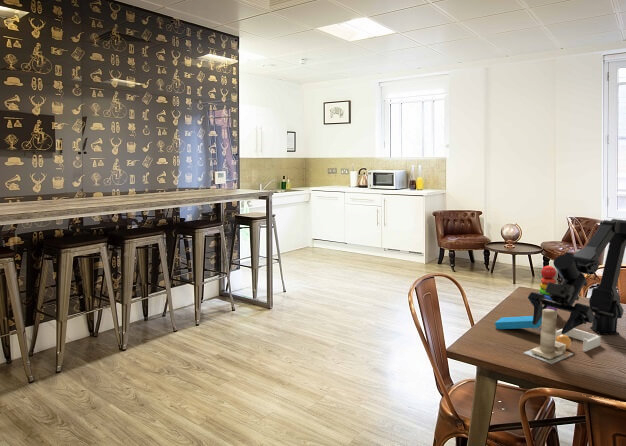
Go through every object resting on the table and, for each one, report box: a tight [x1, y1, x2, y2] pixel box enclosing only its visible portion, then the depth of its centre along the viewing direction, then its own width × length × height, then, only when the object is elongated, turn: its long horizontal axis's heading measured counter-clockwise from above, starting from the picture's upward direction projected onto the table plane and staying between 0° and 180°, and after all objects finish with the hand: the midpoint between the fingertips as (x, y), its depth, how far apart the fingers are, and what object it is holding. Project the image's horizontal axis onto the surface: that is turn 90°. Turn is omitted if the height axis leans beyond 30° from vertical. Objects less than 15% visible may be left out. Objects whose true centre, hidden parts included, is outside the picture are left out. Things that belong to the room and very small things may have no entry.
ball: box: [556, 335, 572, 350], centre depth 153 cm, size 4×4×4 cm
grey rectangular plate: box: [523, 349, 574, 365], centre depth 149 cm, size 12×9×1 cm
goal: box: [555, 327, 602, 352], centre depth 157 cm, size 9×11×4 cm
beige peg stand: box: [530, 309, 567, 359], centre depth 148 cm, size 10×6×13 cm, turn 123°
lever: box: [494, 315, 542, 333], centre depth 167 cm, size 7×7×18 cm
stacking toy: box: [538, 265, 559, 315], centre depth 185 cm, size 8×8×19 cm
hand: (547, 328), depth 147 cm, fingers open, 9 cm apart
